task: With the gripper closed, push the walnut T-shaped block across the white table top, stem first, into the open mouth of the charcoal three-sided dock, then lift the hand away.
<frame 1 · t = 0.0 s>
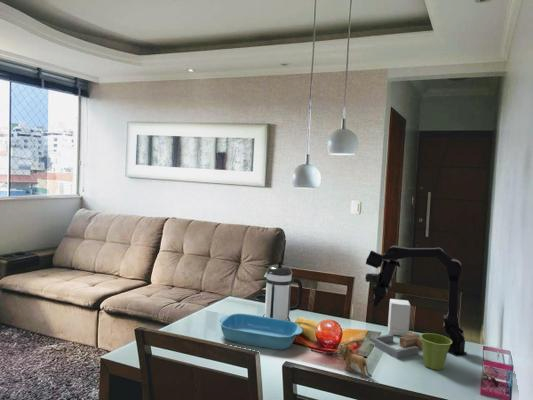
hand: (376, 303, 199), 15 cm above the table, tool pointing down, fingers open, 9 cm apart
casserole dish: (259, 340, 189), on the table
dock: (391, 349, 186), on the table
lion figurine: (352, 371, 162), on the table
t block: (410, 346, 191), on the table
plant pot: (433, 366, 171), on the table
supplement box: (397, 332, 208), on the table
coffee press: (278, 320, 215), on the table
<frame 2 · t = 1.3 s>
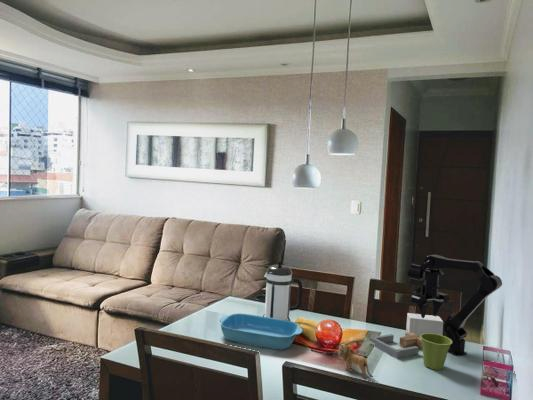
hand: (428, 317, 195), 12 cm above the table, tool pointing down, fingers open, 7 cm apart
supplement box: (407, 324, 207), point 4 cm above the table
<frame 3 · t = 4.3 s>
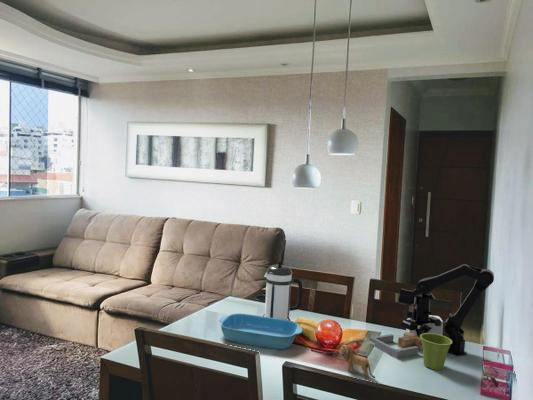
hand: (420, 341, 194), 1 cm above the table, tool pointing down, fingers closed
t block: (409, 346, 191), on the table, touching gripper
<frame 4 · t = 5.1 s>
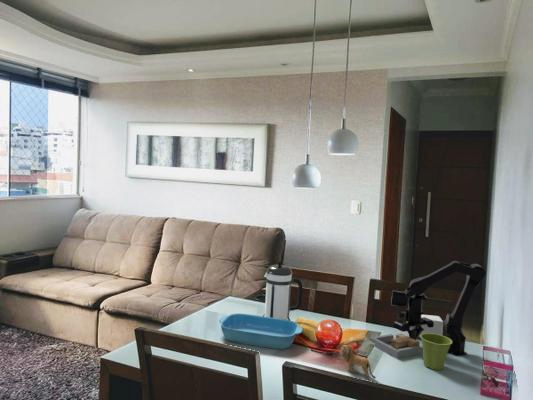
hand: (412, 343, 192), 1 cm above the table, tool pointing down, fingers closed
t block: (401, 348, 188), on the table, touching gripper
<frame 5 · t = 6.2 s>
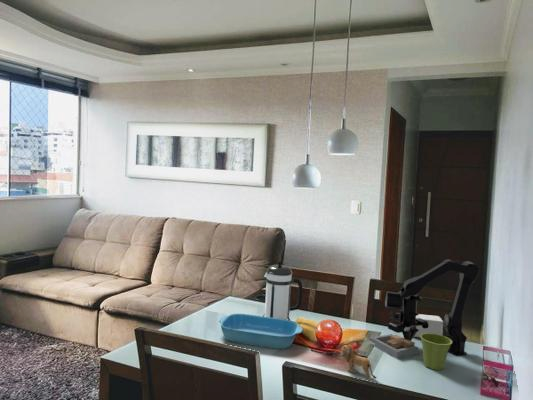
hand: (407, 344, 190), 1 cm above the table, tool pointing down, fingers closed
t block: (396, 349, 186), on the table, touching gripper
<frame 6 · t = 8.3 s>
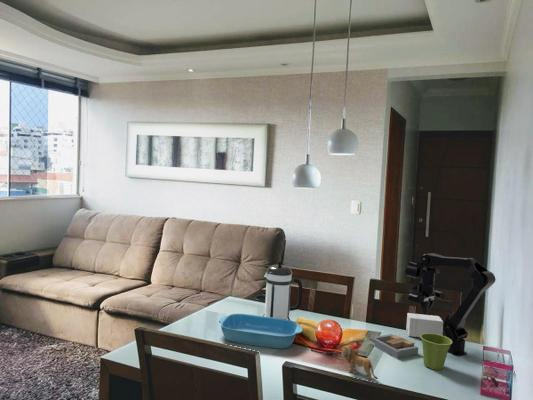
hand: (425, 314, 198), 12 cm above the table, tool pointing down, fingers closed
t block: (396, 349, 186), on the table
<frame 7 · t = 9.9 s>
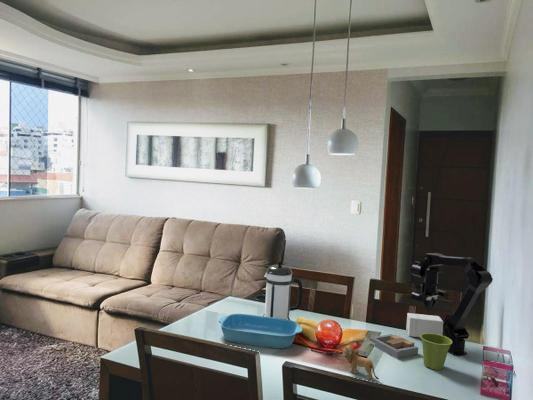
hand: (428, 313, 200), 12 cm above the table, tool pointing down, fingers closed
at the end: t block inside the target area on the dock (1.4 cm from its centre), point 0.0 cm above the dock's base; t block tilted 0°; t block moved 9.3 cm from its start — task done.
